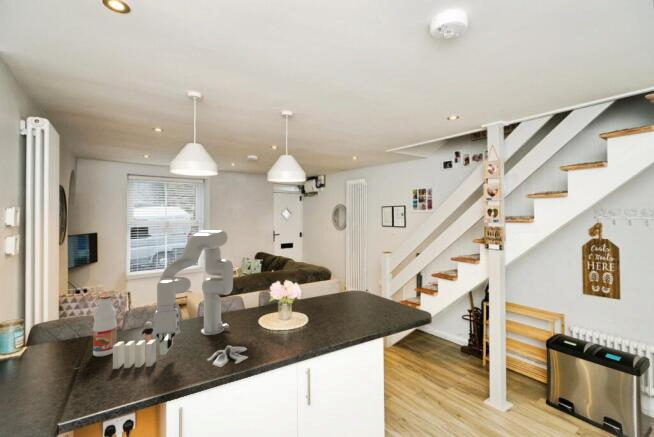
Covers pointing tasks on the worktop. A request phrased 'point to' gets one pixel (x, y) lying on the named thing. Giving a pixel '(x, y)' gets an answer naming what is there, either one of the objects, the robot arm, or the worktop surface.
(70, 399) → the worktop surface
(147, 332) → the grandmother figurine
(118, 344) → the domino
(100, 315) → the fruit juice
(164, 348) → the domino
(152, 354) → the domino
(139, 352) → the domino
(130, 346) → the domino
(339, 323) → the worktop surface
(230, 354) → the cloth
